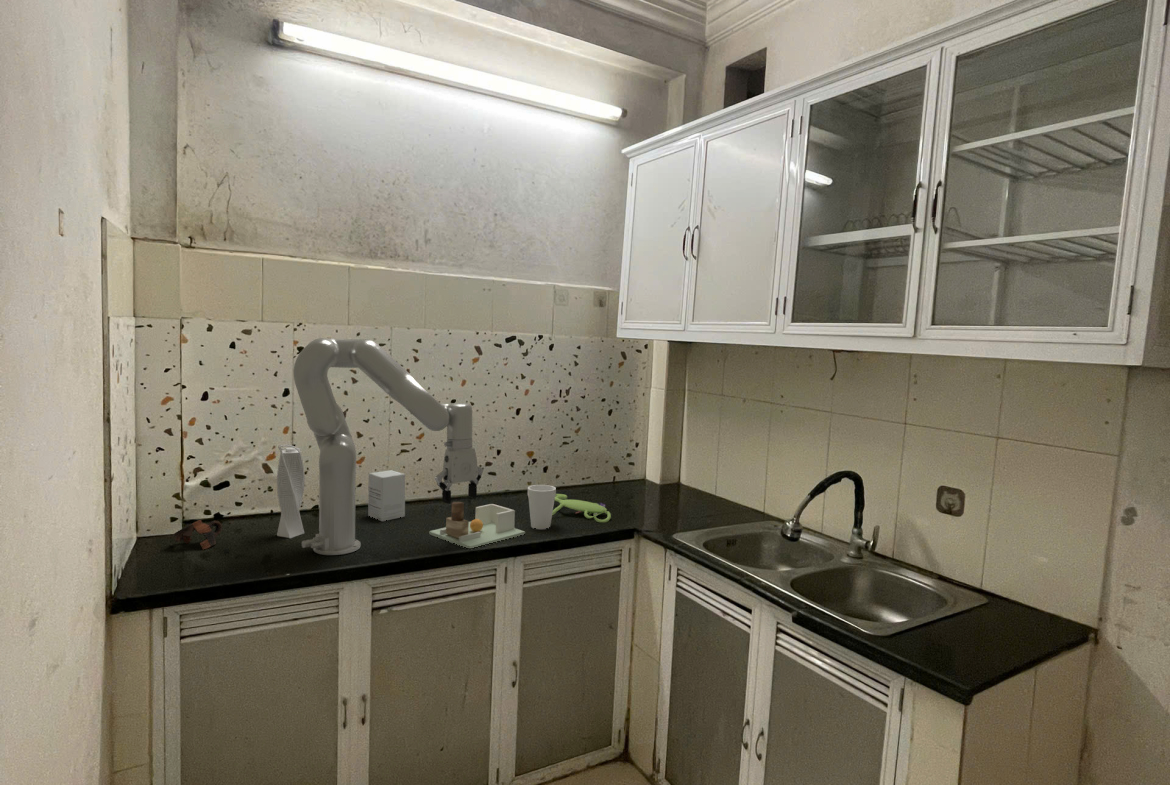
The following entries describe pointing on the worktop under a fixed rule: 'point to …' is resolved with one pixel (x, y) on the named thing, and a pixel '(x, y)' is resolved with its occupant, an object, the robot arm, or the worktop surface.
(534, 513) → the foam cup
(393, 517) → the supplement box
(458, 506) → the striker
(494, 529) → the pitch
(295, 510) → the skyscraper
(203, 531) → the brown irregular piece
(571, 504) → the figurine
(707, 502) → the worktop surface
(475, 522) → the ball
